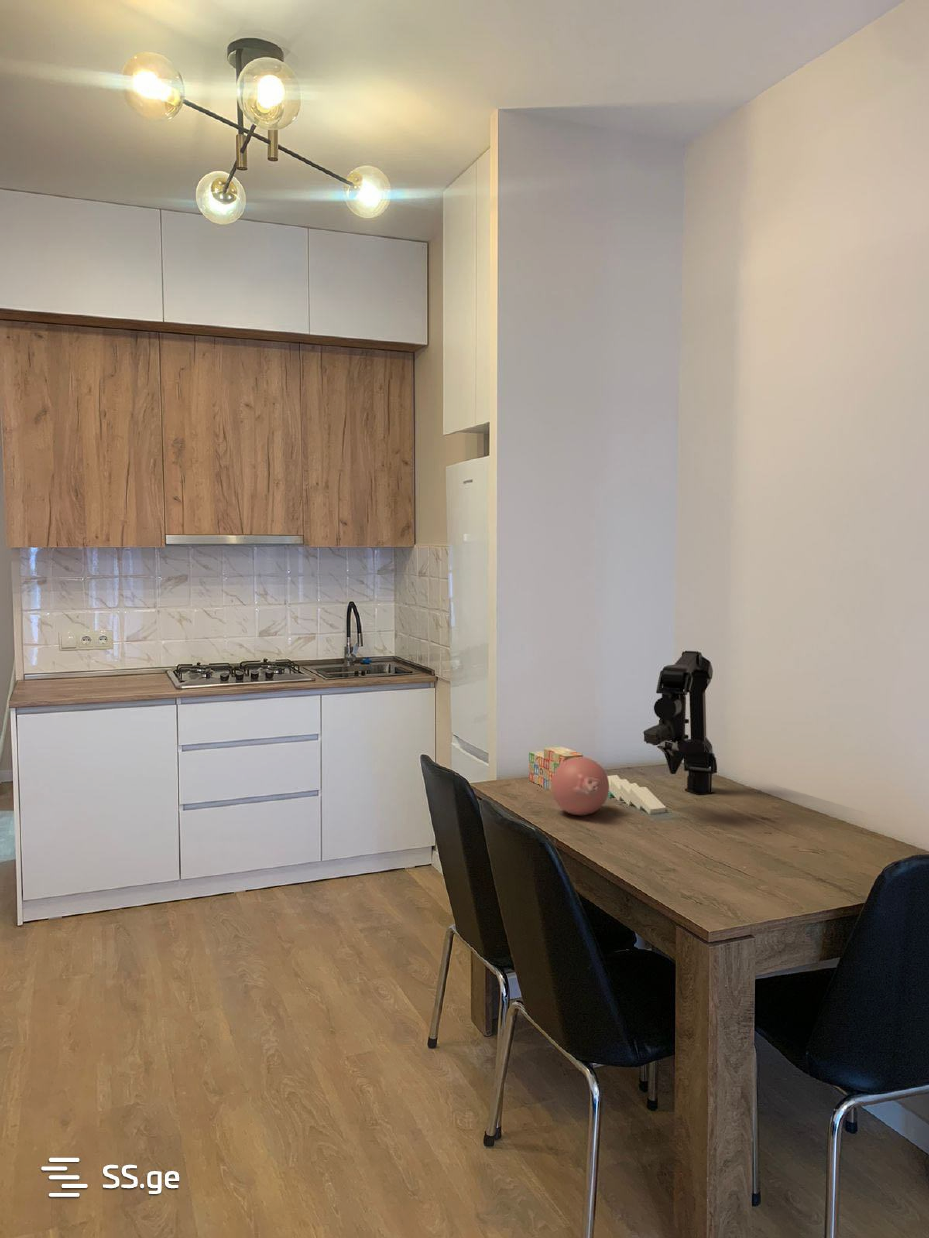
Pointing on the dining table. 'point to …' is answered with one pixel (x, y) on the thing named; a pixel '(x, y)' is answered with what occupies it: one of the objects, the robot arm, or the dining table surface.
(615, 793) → the domino
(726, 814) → the dining table surface
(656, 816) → the domino mat
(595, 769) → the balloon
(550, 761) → the stack of blocks
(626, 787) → the domino
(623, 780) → the domino
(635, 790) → the domino
